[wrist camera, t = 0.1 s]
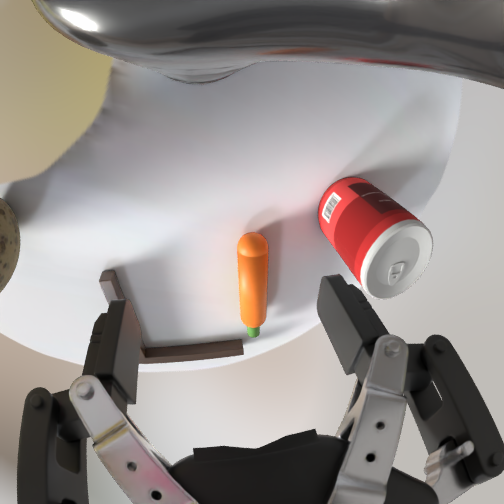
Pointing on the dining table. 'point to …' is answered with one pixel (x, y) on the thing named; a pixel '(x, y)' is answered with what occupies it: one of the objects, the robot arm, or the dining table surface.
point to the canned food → (374, 236)
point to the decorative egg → (8, 243)
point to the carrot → (253, 280)
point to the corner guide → (174, 352)
